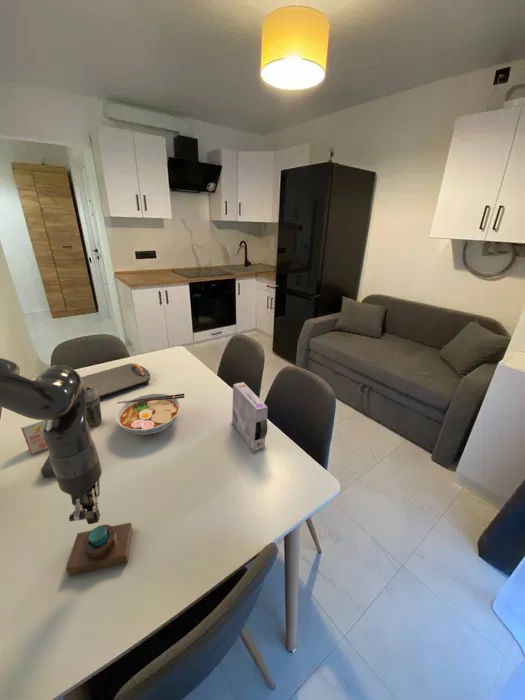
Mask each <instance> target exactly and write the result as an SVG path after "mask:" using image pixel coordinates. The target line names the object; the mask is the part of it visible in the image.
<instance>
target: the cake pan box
mask: <svg viewBox="0 0 525 700" xmlns="http://www.w3.org/2000/svg"><path fill="white" fill-rule="evenodd" d="M231 408H232V411H231V412H232V413H231V423H232V424H233V425H234V427H235V428H236V430H238V432H239V435H241V437H242V438H243V440H244V441H246V443H247V444H248V445H249V447H250V448H251V450H253V452H256V451H259V450H261V449H263V448H265V447H266V446H265V445H266V436H267V434H268V420H267V419H268V413H269V411H268V410H269V407H268V406H267V405H266V404H265V403H264V401H262V399H260V398H259V396H258V395H256V393H255V392H254V391H253V390H252V389H251V388H250V387H249V386H248V385H247V384H246V383H245V382H244V381H242V382H237V383H234V384H233V385H232V407H231Z"/></svg>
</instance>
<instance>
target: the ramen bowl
mask: <svg viewBox="0 0 525 700" xmlns="http://www.w3.org/2000/svg"><path fill="white" fill-rule="evenodd" d="M179 399H185V393H177V394H167V393H149V394H142V395H139V396H137V397H135V398H131V399H129V400H123V401H118V402H117V403H116V404H122V405H121V406H120V408H119V409H118V410H117V412H116V413H115V414H116V415H115V421H116V422H117V423H118V424H119V426H120V427H121V428H122V429H123V430H125V431H126V432H130V433H132V434H135V435H145V436H147V435H151V434H152V435H153V434H156V433H159V432H161V431H163V430H165V429H167V428H168V427H169V426H170V425H171V424H172V423H173V422H175V420H176V418H177V417H178V415H179V412H180V410H181V408H182V406H181V403H180V400H179Z"/></svg>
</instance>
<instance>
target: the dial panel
mask: <svg viewBox="0 0 525 700" xmlns="http://www.w3.org/2000/svg"><path fill="white" fill-rule="evenodd" d="M40 472H41V475H42V477H43V478H49V477H50V478H51V477H56V476H55V473H54V471H53V468H52V465H51V461H50V455H49V454H48V456H47V458H46V460H45V462H44V464H43V466H42V467H41V468H40Z"/></svg>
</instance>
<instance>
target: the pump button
mask: <svg viewBox="0 0 525 700" xmlns="http://www.w3.org/2000/svg"><path fill="white" fill-rule="evenodd" d="M98 526H99V527H98ZM98 526H96V527H94V528H95V529H94V528H93V529H91V530H92V531H91V530H90V531H91V533H90V534H89V540H90V543H91V546H93V547H99V546H101V545H103V544H104V543H105V542H106V541H107V539H108V533H107V530H106V528H105V527H104V526H101V525H98Z"/></svg>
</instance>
